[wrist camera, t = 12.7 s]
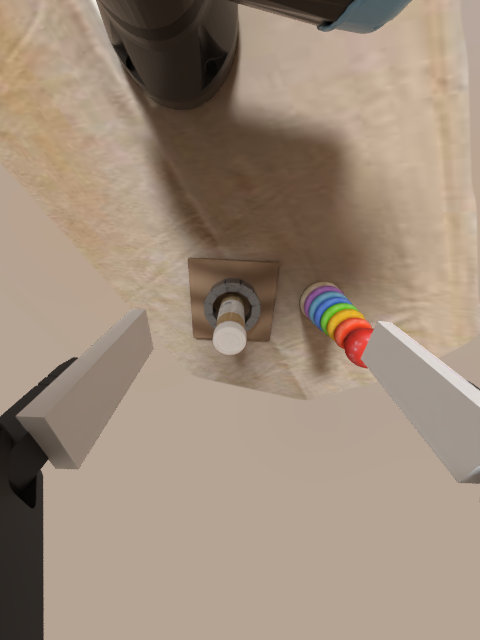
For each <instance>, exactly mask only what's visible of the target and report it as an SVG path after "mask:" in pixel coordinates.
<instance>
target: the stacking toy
mask: <svg viewBox="0 0 480 640" xmlns="http://www.w3.org/2000/svg"><path fill="white" fill-rule="evenodd" d="M300 308H301V311H302V313H303V314H304V315H305V316H306V317H307V318H308V319H309V320H311V321H312V323H313V324H314V325H316V326H317V327H318V328H319V329H320V330H321V331H323V332H324V333H325V334H326V335H328V336H329V337H330V338H331V339H332V340H334V341H335V342H336V343H337V345H338V346H339V347H341V348H343V349H345V353H346V355H347V357H348V358H349V360H350V361H351V362H352V363H354V364H355V365H357V366H360V367H363V368H368V367H367V366H366V365H365V364H364V362H363V361H362V360H361V357H362V354H363V352H364V350H365V348H366V346H367V343H368V341H369V339H370V337H371V334H372V332H373V330H374V329H372V327H371V325H370V324H369V322H367V321H366V320H365V318H364V316H363V315H362V314H361V313H360V312H359V311H358V309H357V308H356V307H355V306H353V305H352V303H351V302H350V301H349V300H348V299H347V298H346V297H345V295H344V294H343V292H342V291H341V290H340V289H339V288H338V287H337V286H336V285H334V284H333V283H330V282H318V283H314V284H312V285H311V286H309V287H308V288H307V289H306V290H305V291H304V292H303V294H302V296H301V299H300Z"/></svg>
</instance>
